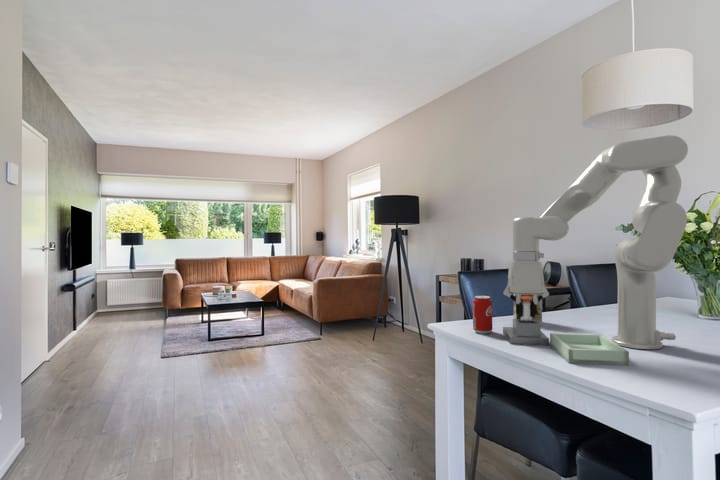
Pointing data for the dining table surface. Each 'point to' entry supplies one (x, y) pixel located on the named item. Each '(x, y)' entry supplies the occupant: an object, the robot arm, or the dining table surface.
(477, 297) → the beverage can
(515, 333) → the bracket
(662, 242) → the robot arm
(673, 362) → the dining table surface
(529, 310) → the lock pin
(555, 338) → the tray
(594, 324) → the dining table surface
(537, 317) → the coffee box
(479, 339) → the dining table surface
